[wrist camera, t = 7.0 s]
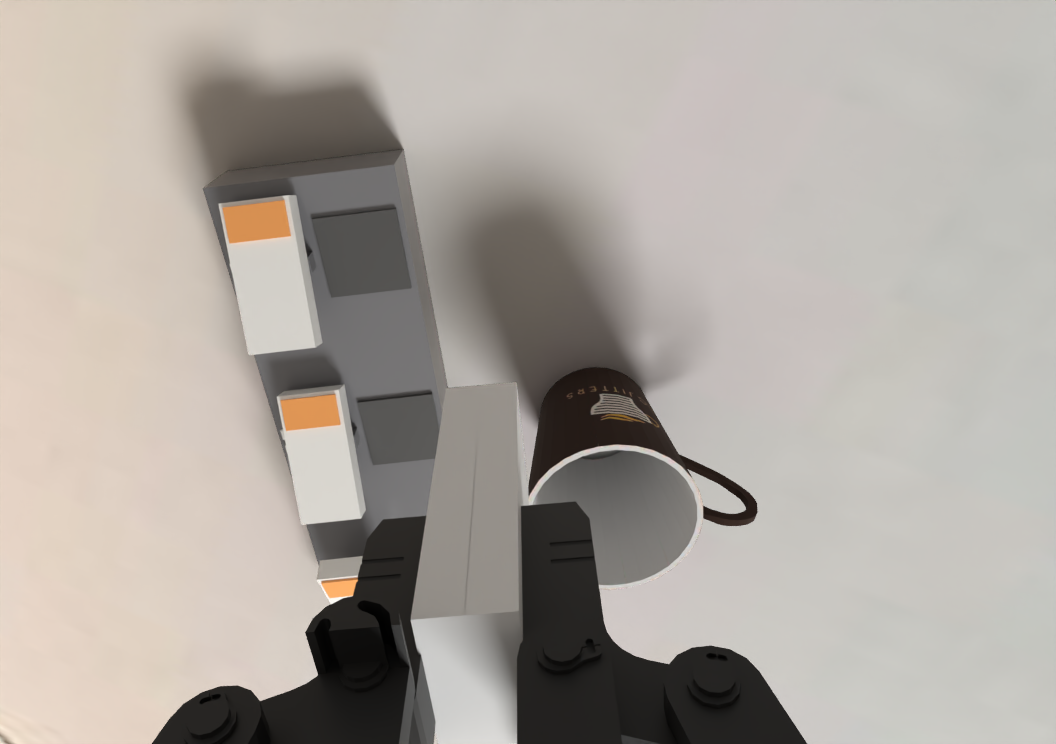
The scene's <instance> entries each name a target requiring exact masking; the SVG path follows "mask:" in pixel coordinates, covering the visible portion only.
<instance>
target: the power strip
mask: <svg viewBox="0 0 1056 744" xmlns="http://www.w3.org/2000/svg"><path fill="white" fill-rule="evenodd" d="M203 190H204V193H205V197H206V200H207V203H208V206H209V210H210V213H211V216H212V219H213V223H214V226H215V229H216V232H217V236H218V239H219V242H220V245H221V249H222V252H223V255H224V258H225V262H226V265H227V268H228V271H229V275H230V278H231V281H232V284H233V288H234V291H235V294H236V290H235V285H234V280H233V275H232V270H231V265H230V260H229V255H228V250H227V245H226V240H225V235H224V230H223V225H222V220H221V215H220V210H219V205H218V204H220V203H228V202H236V201H244V200H253V199H261V198H269V197H277V196H285V195H296V197H297V203H298V208H299V214H300V219H301V225H302V231H303V236H304V242H305V248H306V253H307V259H308V264H309V270H310V276H311V281H312V287H313V293H314V298H315V304H316V309H317V315H318V321H319V326H320V332H321V338H322V344H320V345H319V346H317V347H316V348H308V349H299V350H291V351H282V352H273V353H264V354H256V355H254V356H255V359H256V362H257V366H258V369H259V372H260V375H261V379H262V382H263V385H264V388H265V392H266V395H267V398H268V401H269V405H270V408H271V411H272V414H273V418H274V421H275V424H276V427H277V431H278V434H279V437H280V440H281V444H282V447H283V450H284V453H285V457H286V460H287V463H288V466H289V470H290V473H291V469H290V464H289V459H288V454H287V448H286V443H285V438H284V433H283V427H282V422H281V417H280V412H279V406H278V401H277V396H278V395H280V394H281V393H282V392H284V391H290V390H299V389H308V388H316V387H325V386H334V385H343V384H344V385H345V391H346V397H347V402H348V408H349V414H350V420H351V426H352V432H353V437H354V443H355V449H356V455H357V461H358V467H359V472H360V478H361V484H362V490H363V496H364V501H365V507H366V511H365V512H364V514H363V516H362V518H361V519H352V520H343V521H334V522H324V523H315V524H306V525H307V528H308V531H309V535H310V538H311V541H312V544H313V548H314V551H315V554H316V557H317V561H318V564H319V563H320V560H330V559H339V558H349V557H358V556H363V553H364V549H365V545H366V541H367V538H368V537H369V536H370V535H371V534H372V532H373V531H374V530H375V529H376V527H377V526H378V525H379V524H380V522H381V521H382V520H383V519H393V518H405V517H417V516H427V509H428V503H429V496H430V490H431V483H432V477H433V470H434V464H435V457H436V451H437V444H438V438H439V431H440V425H441V418H442V412H443V405H444V399H445V392H446V388H448V386H447V380H446V375H445V370H444V364H443V359H442V353H441V348H440V343H439V337H438V332H437V327H436V321H435V316H434V310H433V305H432V300H431V294H430V289H429V284H428V278H427V273H426V268H425V262H424V257H423V251H422V246H421V241H420V235H419V230H418V225H417V219H416V214H415V208H414V203H413V198H412V192H411V187H410V182H409V176H408V171H407V165H406V160H405V155H404V149H401V150H393V151H385V152H377V153H369V154H361V155H353V156H345V157H337V158H329V159H320V160H312V161H304V162H296V163H288V164H280V165H272V166H264V167H256V168H248V169H240V170H232V171H227V172H225V173H224V174H222V175H221V176H220V177H218V178H217V179H215V180H214V181H212V182H211V183H210V184H208V185H207V186H205V187H204V188H203ZM236 297H237V295H236ZM237 301H238V300H237ZM291 476H292V474H291Z"/></svg>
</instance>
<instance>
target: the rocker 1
mask: <svg viewBox="0 0 1056 744" xmlns="http://www.w3.org/2000/svg"><path fill="white" fill-rule="evenodd" d="M218 205H219V210H220V215H221V220H222V225H223V230H224V235H225V240H226V245H227V250H228V255H229V260H230V265H231V270H232V275H233V280H234V285H235V290H236V295H237V300H238V305H239V310H240V315H241V320H242V325H243V330H244V335H245V340H246V345H247V350H248V355H256V354H264V353H273V352H282V351H291V350H299V349H308V348H316V347H317V346H319V345H320V344H322V338H321V332H320V326H319V321H318V315H317V309H316V304H315V298H314V293H313V287H312V281H311V276H310V270H309V264H308V259H307V253H306V248H305V242H304V236H303V231H302V225H301V219H300V214H299V208H298V203H297V197H296V195H285V196H277V197H269V198H261V199H253V200H244V201H236V202H228V203H220V204H218Z"/></svg>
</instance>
